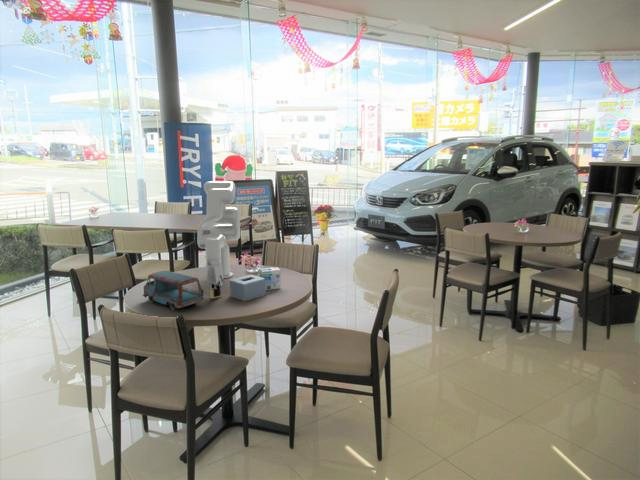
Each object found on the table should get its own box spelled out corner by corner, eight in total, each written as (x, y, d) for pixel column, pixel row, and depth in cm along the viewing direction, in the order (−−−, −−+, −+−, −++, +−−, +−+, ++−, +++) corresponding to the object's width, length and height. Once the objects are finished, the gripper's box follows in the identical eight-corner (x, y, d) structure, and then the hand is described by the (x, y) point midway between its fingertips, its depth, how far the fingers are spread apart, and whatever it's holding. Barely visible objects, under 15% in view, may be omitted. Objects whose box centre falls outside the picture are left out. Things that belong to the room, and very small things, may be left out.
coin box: (230, 296, 238) (229, 279, 236) (251, 290, 248) (250, 274, 246) (244, 301, 230) (243, 284, 228) (265, 294, 240) (265, 278, 238)
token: (210, 297, 235) (209, 288, 234) (218, 295, 238) (218, 286, 237) (212, 298, 233) (212, 289, 232) (221, 296, 237) (220, 287, 236)
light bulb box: (262, 290, 248) (261, 271, 245) (259, 287, 254) (258, 268, 252) (281, 288, 251) (280, 269, 249) (277, 285, 258) (277, 266, 255)
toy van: (168, 293, 243) (165, 266, 240) (206, 305, 225) (204, 276, 222) (141, 301, 231) (138, 273, 228) (179, 314, 212) (177, 283, 209)
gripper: (198, 260, 234) (200, 293, 238) (216, 265, 224) (218, 301, 227) (211, 257, 240) (213, 290, 243) (229, 262, 229) (230, 297, 233)
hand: (215, 295), depth 235 cm, fingers closed on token, 2 cm apart
